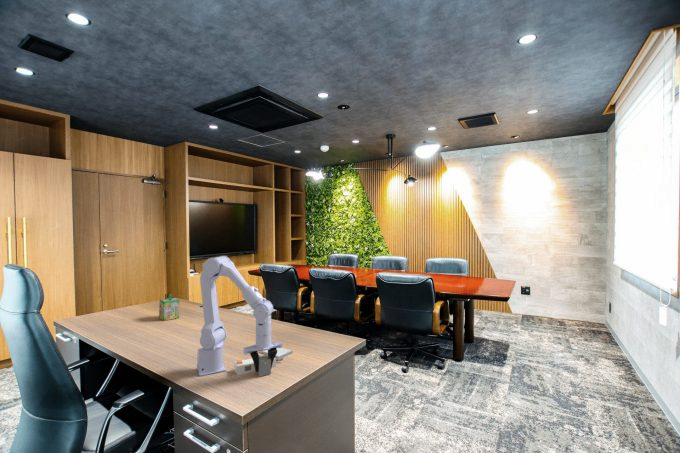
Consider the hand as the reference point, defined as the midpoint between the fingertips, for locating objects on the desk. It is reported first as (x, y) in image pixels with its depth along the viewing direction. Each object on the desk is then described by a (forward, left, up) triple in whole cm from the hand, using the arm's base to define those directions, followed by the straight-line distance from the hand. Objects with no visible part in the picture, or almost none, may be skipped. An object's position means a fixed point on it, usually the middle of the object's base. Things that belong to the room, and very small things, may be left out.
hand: (263, 369), depth 125 cm
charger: (0, 0, -1) cm, 1 cm away
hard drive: (+11, +18, -2) cm, 21 cm away
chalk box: (-28, +104, -2) cm, 108 cm away
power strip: (0, +6, -1) cm, 6 cm away
